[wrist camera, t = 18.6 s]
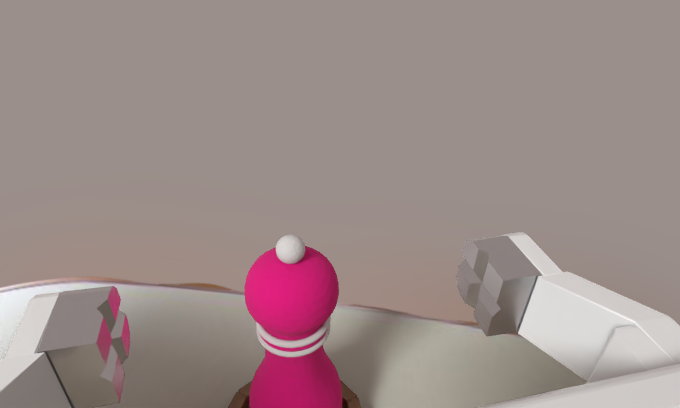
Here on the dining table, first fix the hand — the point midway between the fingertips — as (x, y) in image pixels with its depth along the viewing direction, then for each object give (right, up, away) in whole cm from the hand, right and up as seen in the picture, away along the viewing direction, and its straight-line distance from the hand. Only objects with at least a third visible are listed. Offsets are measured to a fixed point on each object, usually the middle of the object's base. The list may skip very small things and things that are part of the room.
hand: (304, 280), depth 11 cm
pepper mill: (-3, -17, +27) cm, 32 cm away
